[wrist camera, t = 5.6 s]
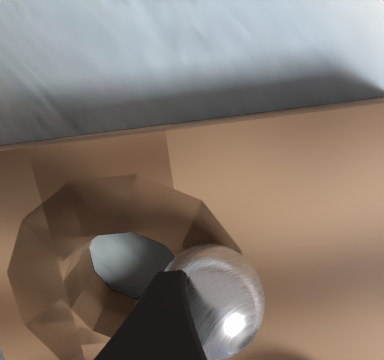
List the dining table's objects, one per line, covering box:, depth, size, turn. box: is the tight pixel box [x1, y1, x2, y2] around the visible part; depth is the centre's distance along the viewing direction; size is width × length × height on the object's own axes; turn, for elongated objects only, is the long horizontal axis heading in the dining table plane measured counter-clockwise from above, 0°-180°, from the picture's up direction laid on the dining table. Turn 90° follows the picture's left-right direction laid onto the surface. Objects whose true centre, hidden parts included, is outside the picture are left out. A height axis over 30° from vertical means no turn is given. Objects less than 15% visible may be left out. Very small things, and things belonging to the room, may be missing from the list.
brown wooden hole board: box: [0, 97, 384, 360], centre depth 12 cm, size 13×16×2 cm
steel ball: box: [164, 244, 265, 360], centre depth 9 cm, size 3×3×3 cm
